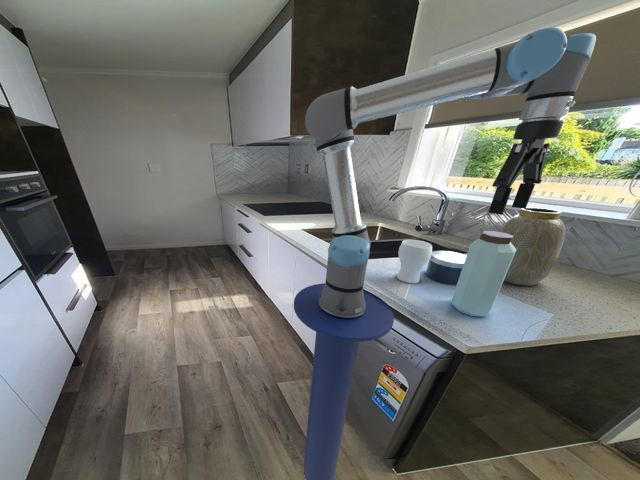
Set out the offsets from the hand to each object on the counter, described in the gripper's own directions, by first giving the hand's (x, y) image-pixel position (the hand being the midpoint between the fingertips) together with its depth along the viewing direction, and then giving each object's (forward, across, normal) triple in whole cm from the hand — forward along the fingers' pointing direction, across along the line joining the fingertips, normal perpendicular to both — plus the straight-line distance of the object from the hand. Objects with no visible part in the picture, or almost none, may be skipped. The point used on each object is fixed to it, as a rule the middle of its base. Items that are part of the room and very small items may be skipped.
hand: (507, 210), depth 65 cm
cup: (+32, +3, +22) cm, 39 cm away
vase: (+32, +39, +3) cm, 50 cm away
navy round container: (+32, +17, +16) cm, 39 cm away
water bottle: (+32, 0, 0) cm, 32 cm away
